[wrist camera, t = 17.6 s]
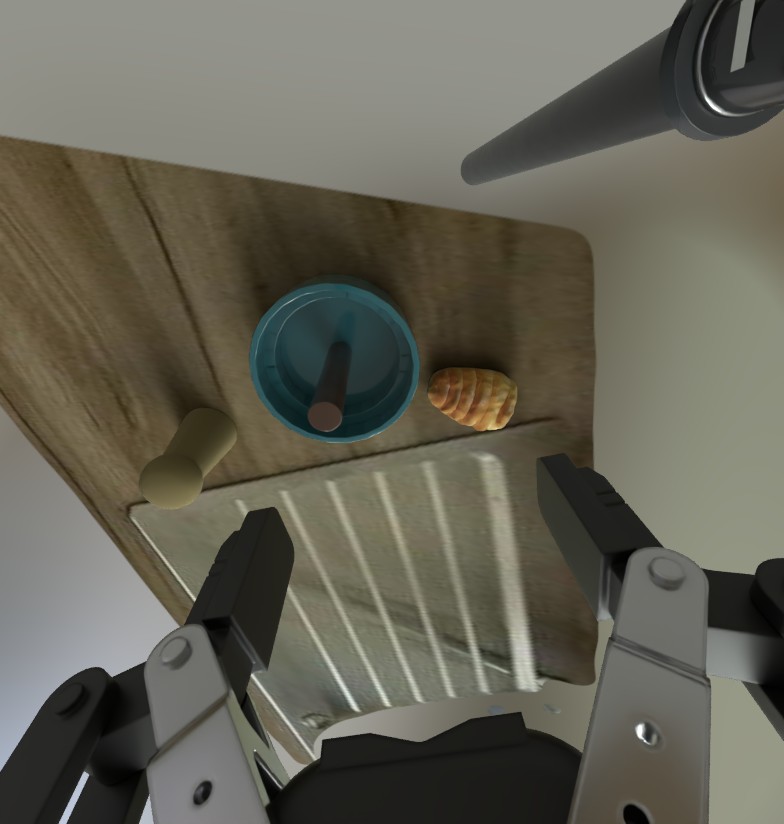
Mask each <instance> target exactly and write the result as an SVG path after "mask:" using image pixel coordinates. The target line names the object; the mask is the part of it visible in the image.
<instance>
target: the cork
mask: <svg viewBox="0 0 784 824" xmlns="http://www.w3.org/2000/svg"><path fill="white" fill-rule="evenodd" d="M236 439H237V429H236V427H235V425H234V423H233V421H232V420H231V419H230V418H229V417H228V416H227V415H225V414H224V413H222V412H220V411H218V410H215V409H212V408H199V409H195V410H193V411H191V412H190V413H188V414H187V415H186V417H185V418H184V420H183V421H182V423H181V425H180V427H179V428H178V430H177V432H176V433H175V435H174V437H173V439H172V440H171V442H170V444H169V445H168V447H167V449H166V451H165V452H164V454H163V455H161V456H159V457H157V458H155V459H154V460H152V461H151V462H149V463H148V464H147V465H146V466H145V468H144V469H143V471H142V473H141V475H140V480H139V486H140V490H141V493H142V494H143V496H144V497H145V498H146V499H147V500H148V501H149V502H150V503H152V504H154V505H156V506H158V507H161V508H165V509H177V508H181V507H184V506H186V505H188V504H190V503H191V502H193V501H194V500H195V499H196V497H197V496H198V495H199V493H200V492H201V490H202V486H203V481H204V477H205V476H206V474H207V473H208V472H209V471H210V470H211V469H212V468H213V467H214V466H215V465H216V464H217V463H218V462H219V461H220V460H221V459H222V457H223V456H224V455H225V454H226V453H227V452H228V451H229V450H230V449H231V448H232V447H233V445H234V444H235V443H236Z"/></svg>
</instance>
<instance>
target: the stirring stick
mask: <svg viewBox="0 0 784 824" xmlns="http://www.w3.org/2000/svg"><path fill="white" fill-rule="evenodd" d="M351 358H352V350H351V348H350V347H349V345H347V344H346V343H344V342H336V343H334V344H332V345H331V346H330V348H329V351H328V354H327V357H326V360H325V363H324V366H323V369H322V372H321V375H320V378H319V381H318V384H317V387H316V390H315V393H314V396H313V399H312V402H311V405H310V408H309V411H308V420H309V422H310V424H311V425H312V426H313V427H314V428H316V429H317V430H320V431H332V430H334V429H336V428H337V427H338V426H339V425H340V423H341V421H342V416H343V409H344V403H345V396H346V390H347V383H348V377H349V370H350V364H351Z"/></svg>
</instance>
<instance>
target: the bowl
mask: <svg viewBox="0 0 784 824" xmlns="http://www.w3.org/2000/svg"><path fill="white" fill-rule="evenodd" d="M336 342H344V343H346V344H347V345H349V347H350V348H351V350H352V358H351V364H350V370H349V377H348V383H347V390H346V396H345V403H344V409H343V416H342V421H341V423H340V425H339V426H338V427H337V428H336V429H334V430H332V431H320V430H317V429H316V428H314V427H313V426H312V425H311V424H310V422H309V420H308V411H309V408H310V405H311V402H312V399H313V396H314V393H315V390H316V387H317V384H318V381H319V378H320V375H321V372H322V369H323V366H324V363H325V360H326V357H327V354H328V351H329V348H330V346H331V345H332V344H334V343H336ZM249 362H250V371H251V378H252V381H253V384H254V386H255V388H256V391H257V393H258V396H259V398H260V399H261V401H262V402H263V403H264V405H265V406H266V407H267V409H268V410H269V411H270V413H271V414H272V415H273V416H274V417H275V418H277V419H278V420H279V421H280V422H282V423H283V424H284V425H285V426H286V427H288V428H289V429H291V430H293V431H295V432H297V433H299V434H301V435H303V436H305V437H307V438H312V439H316V440H320V441H324V442H337V443H348V442H353V441H358V440H363V439H367V438H369V437H371V436H373V435H376V434H378V433H380V432H382V431H384V430H385V429H387V428H388V427H389V426H390V425H392V424H393V423H394V422H395V421H397V420H398V419H399V418H400V417H401V415H402V414H403V413H404V411H405V410H406V409H407V407H408V406H409V404H410V403H411V401H412V399H413V396H414V393H415V391H416V388H417V386H418V381H419V370H420V360H419V355H418V350H417V344H416V341H415V338H414V335H413V332H412V329H411V326H410V324H409V322H408V320H407V318H406V316H405V314H404V312H403V310H402V309H401V307H400V306H399V305H398V304H397V303H396V302H395V301H394V300H393V298H392V297H391V296H390V295H389V294H388V293H386V292H385V291H383V290H382V289H380V288H379V287H377V286H376V285H374V284H373V283H371V282H369V281H366V280H363V279H360V278H357V277H354V276H350V275H333V274H329V275H324V276H319V277H315V278H310V279H307V280H305V281H304V282H302V283H300V284H298V285H297V286H295V287H293V288H291V289H290V290H289V291H287V292H286V293H285V294H284V295H283V296H282V297H281V298H280V299H279V300H277V301H276V302H275V304H274V305H273V306H272V307H271V308H270V309H269V310H268V311H267V312H266V313H265V314H264V315H263V316H262V318H261V320H260V322H259V324H258V326H257V328H256V330H255V332H254V334H253V336H252V342H251V347H250V353H249Z"/></svg>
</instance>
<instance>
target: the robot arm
mask: <svg viewBox="0 0 784 824" xmlns="http://www.w3.org/2000/svg"><path fill="white" fill-rule="evenodd" d="M692 76H693V84H694V88H695V92H696V94H697V97H698V99H699V100H700V102H701V103H702V105H703V106H704V107H705V108H706V109H707V110H708V111H709V112H711V113H712V114H714V115H716V116H719V117H723V118H738V117H743V116H747V115H751V114H754V113H757V112H759V111H762V110H764V109H767V108H771V107H775V106H779V105H783V104H784V0H716V1H715V3H714V4H713V6H712V7H711V9H710V11H709V12H708V14H707V16H706V18H705V20H704V22H703V25H702V27H701V29H700V32H699V35H698V38H697V41H696V45H695V49H694V55H693V63H692ZM536 469H537V492H538V503H539V507H540V511H541V514H542V516H543V518H544V520H545V522H546V524H547V526H548V528H549V530H550V532H551V534H552V536H553V537H554V539H555V541H556V543H557V545H558V547H559V549H560V551H561V553H562V554H563V556H564V558H565V560H566V562H567V564H568V566H569V568H570V569H571V571H572V573H573V575H574V577H575V579H576V581H577V583H578V585H579V586H580V588H581V590H582V592H583V594H584V596H585V598H586V600H587V602H588V603H589V605H590V607H591V609H592V611H593V613H594V615H595V617H596V618H597V620H598V621H603V620H609V619H613V620H614V627H613V631H612V635H611V637H609V640H608V643H607V647H606V651H605V655H604V660H603V664H602V669H601V673H600V678H599V682H598V687H597V691H596V696H595V700H594V705H593V709H592V714H591V718H590V722H589V727H588V731H587V736H586V740H585V745H584V750H583V753H581V752H580V751H579V750H577V749H576V748H574V747H573V746H571V745H569V744H568V743H566V742H564V741H562V740H561V739H558V738H556V737H554V736H552V735H550V734H547V733H544V732H541V731H537V730H532V729H527V728H526V727H525V723H524V720H523V717H522V713H521V712H517V713H510V714H502V715H495V716H488V717H480V718H474V719H470V720H468V721H466V722H463V723H461V724H459V725H457V726H455V727H453V728H451V729H449V730H447V731H445V732H443V733H441V734H439V735H437V736H435V737H433V738H430V739H428V740H427V741H423V742H414V741H409V740H403V739H398V738H392V737H387V736H382V735H377V734H372V733H367V734H360V735H353V736H346V737H339V738H331V739H324V740H322V748H321V757H320V759H318V760H316V761H314V762H313V763H311V764H310V765H308V766H307V767H305V768H304V769H303V770H301V771H300V772H299V773H298V774H297V775H295V776H294V777H293V778H292V779H291V780H290V778H289V776H288V774H287V773H286V771H285V769H284V767H283V766H282V764H281V762H280V760H279V758H278V756H277V754H276V752H275V749H274V747H273V745H272V742H271V740H270V738H269V735H268V733H267V731H266V728H265V726H264V724H263V721H262V719H261V716H260V714H259V712H258V709H257V707H256V705H255V702H254V700H253V698H252V695H251V693H250V691H249V689H248V688H247V686H248V683H249V679H250V675H251V674H253V673H259V672H266V671H267V670H268V666H269V662H270V658H271V653H272V649H273V645H274V641H275V637H276V633H277V629H278V625H279V621H280V617H281V612H282V608H283V604H284V600H285V596H286V592H287V588H288V584H289V580H290V575H291V571H292V567H293V563H294V547H293V543H292V540H291V538H290V536H289V534H288V532H287V530H286V527H285V525H284V523H283V521H282V519H281V517H280V515H279V512H278V510H277V509H276V508H275V507H270V508H265V509H260V510H254V511H250V512H248V514H247V515H246V517H245V520H244V522H243V524H242V527H241V529H240V530H238V531H234V532H233V533H232V534H231V535H230V537H229V538H228V539H227V540H226V541H225V542H224V543H223V545H222V546H221V548H220V550H219V552H218V554H217V556H216V558H215V564H213V565H212V567H211V569H210V571H209V576H208V577H207V578H206V580H205V582H204V584H203V586H202V588H201V590H200V593H199V595H198V597H197V599H196V601H195V603H194V605H193V607H192V610H191V612H190V614H189V616H188V618H187V620H186V622H185V624H184V626H182V627H180V628H177V629H176V630H174V631H172V632H171V633H169V634H168V635H167V636H166V637H164V639H162V640H161V641H160V642H159V643H158V644H157V645H156V647H155V648H154V649H153V651H152V652H151V654H150V655H149V658H148V659H147V661H146V662H144V663H142V664H139V665H137V666H135V667H133V668H131V669H129V670H127V671H124V672H122V673H120V674H118V675H116V676H114V677H111V676H110V675H109V674H108V673H107V672H106V671H105V670H104V669H102V668H100V667H93V668H89V669H85V670H83V671H81V672H79V673H77V674H75V675H74V676H72V677H71V678H69V679H68V680H67V681H65V682H64V683H63V684H62V685H60V687H58V688H57V689H56V690H55V691H54V692H53V693H52V694H51V695H50V697H49V698H48V699H47V700H46V701H45V703H44V704H43V706H42V707H41V709H40V710H39V712H38V713H37V715H36V717H35V718H34V720H33V722H32V723H31V725H30V726H29V728H28V729H27V731H26V732H25V734H24V735H23V737H22V739H21V740H20V742H19V743H18V745H17V747H16V748H15V750H14V751H13V753H12V754H11V756H10V758H9V759H8V761H7V762H6V764H5V765H4V767H3V769H2V770H1V772H0V824H59V821H60V819H61V817H62V815H63V813H64V811H65V809H66V807H67V805H68V802H69V801H70V799H71V796H72V795H73V792H74V790H75V788H76V786H77V784H78V782H79V780H80V778H81V776H82V774H83V772H84V771H85V772H86V773H88V774H89V777H88V779H87V781H86V783H85V786H84V788H83V790H82V792H81V794H80V796H79V798H78V801H77V802H76V805H75V807H74V809H73V811H72V813H71V815H70V817H69V819H68V822H67V824H139V822H140V819H141V816H142V813H143V810H144V807H145V805H146V802H147V799H148V796H149V794H150V800H151V808H152V815H153V821H154V824H708V821H709V819H708V818H709V773H710V771H709V770H710V726H711V684H710V679H709V678H708V677H707V676H706V674H707V675H712V676H718V677H723V678H729V679H734V680H740V681H742V682H743V684H744V685H745V687H746V688H747V690H748V691H749V693H750V694H751V695H752V697H753V698H754V700H755V701H756V702H757V704H758V705H759V707H760V708H761V710H762V711H763V712H764V714H765V715H766V717H767V718H768V720H769V721H770V722H771V724H772V725H773V727H774V728H775V729H776V731H777V732H778V734H779V735H780V736H781V738H782V739H783V741H784V558H776V559H770V560H767V561H764V562H762V563H761V564H760V565H759V566H758V568H757V570H756V573H755V575H750V574H740V573H731V572H721V571H712V570H707V569H702V568H700V567H699V566H698V565H697V564H696V563H695V562H694V561H692V560H691V559H689V558H688V557H686V556H684V555H683V554H680V553H678V552H676V551H673V550H670V549H665V548H664V547H663V546H662V545H661V544H660V543H659V541H658V540H657V539H656V538H655V537H654V535H653V534H652V533H651V532H650V531H649V529H648V528H647V527H646V526H645V525H644V523H643V522H642V521H641V520H640V519H639V517H638V516H637V515H636V514H635V513H634V511H633V510H632V509H631V508H630V507H629V506H628V504H625V501H624V500H623V498H622V497H621V496H620V495H619V494H618V493H616V491H615V489H614V488H613V487H612V485H610V483H609V482H608V481H607V479H606V478H605V477H604V476H602V475H600V474H599V473H597V472H595V471H594V470H592V469H590V468H588V467H584V468H579V469H577V468H576V467H575V466H574V464H573V463H572V462H571V461H570V459H569V458H568V457H567V455H566V454H564V453H561V454H556V455H551V456H546V457H540V458H537V461H536Z"/></svg>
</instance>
